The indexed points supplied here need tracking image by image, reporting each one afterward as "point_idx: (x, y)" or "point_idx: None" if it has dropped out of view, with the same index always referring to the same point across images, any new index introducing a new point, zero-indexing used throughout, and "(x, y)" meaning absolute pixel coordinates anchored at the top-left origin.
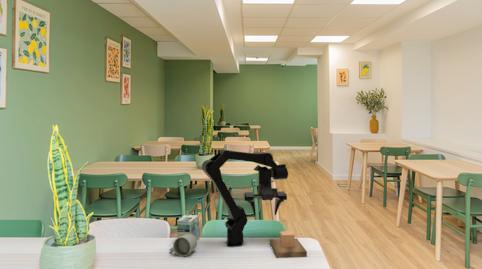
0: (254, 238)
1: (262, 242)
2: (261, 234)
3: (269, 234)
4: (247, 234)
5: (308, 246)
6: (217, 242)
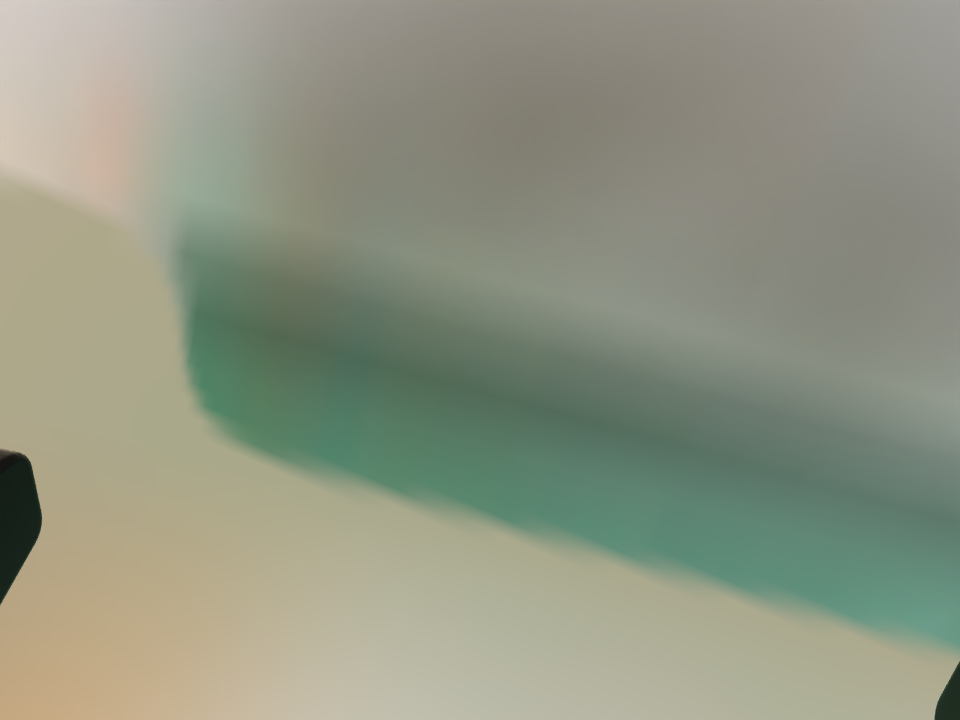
0: (774, 327)
1: (701, 12)
2: (548, 496)
3: (400, 455)
4: (813, 570)
5: None
6: None
